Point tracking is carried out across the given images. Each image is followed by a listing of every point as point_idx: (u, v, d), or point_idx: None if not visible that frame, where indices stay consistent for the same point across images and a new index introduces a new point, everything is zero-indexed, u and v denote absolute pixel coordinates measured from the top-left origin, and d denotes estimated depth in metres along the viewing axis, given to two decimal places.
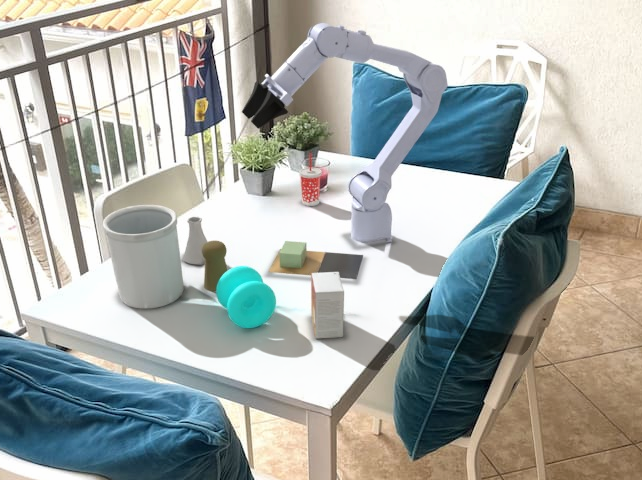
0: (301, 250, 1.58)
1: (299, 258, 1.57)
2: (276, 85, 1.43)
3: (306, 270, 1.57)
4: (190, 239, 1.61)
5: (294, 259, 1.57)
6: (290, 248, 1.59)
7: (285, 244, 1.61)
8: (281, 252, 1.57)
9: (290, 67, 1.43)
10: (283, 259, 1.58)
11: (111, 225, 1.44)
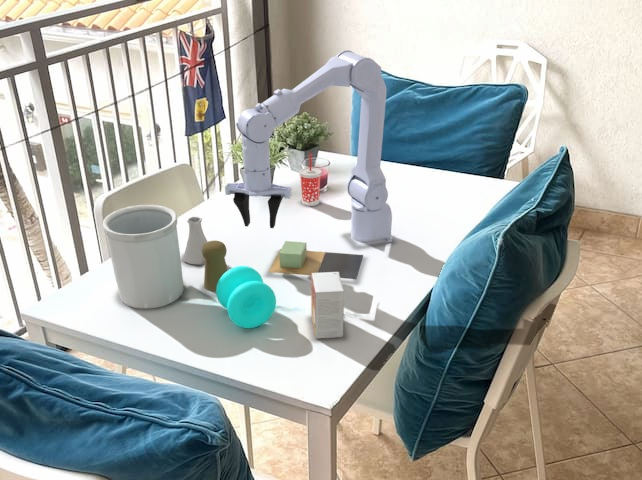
0: (301, 250, 1.58)
1: (299, 258, 1.57)
2: (269, 192, 1.51)
3: (306, 270, 1.57)
4: (190, 239, 1.61)
5: (294, 259, 1.57)
6: (290, 248, 1.59)
7: (285, 244, 1.61)
8: (281, 252, 1.57)
9: (263, 172, 1.48)
10: (283, 259, 1.58)
11: (111, 225, 1.44)
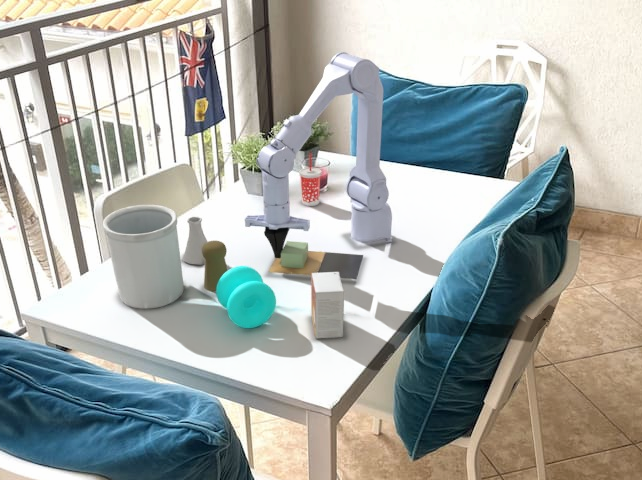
0: (303, 250, 1.58)
1: (301, 258, 1.57)
2: (288, 225, 1.54)
3: (306, 270, 1.57)
4: (190, 239, 1.61)
5: (296, 259, 1.57)
6: (291, 248, 1.59)
7: (287, 244, 1.61)
8: (283, 252, 1.57)
9: (282, 205, 1.52)
10: (284, 259, 1.58)
11: (111, 225, 1.44)
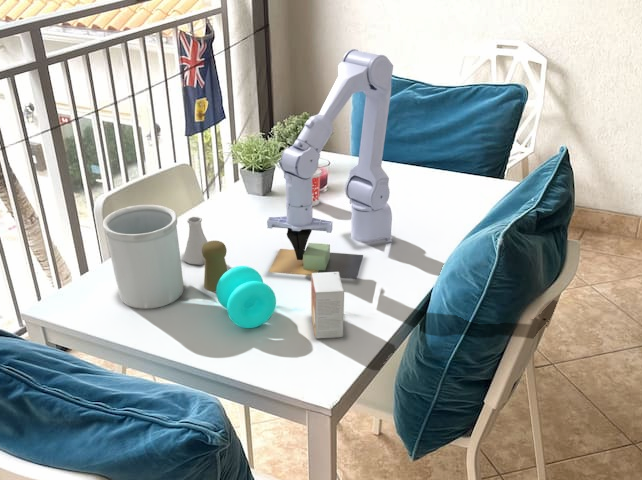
0: (325, 252, 1.57)
1: (323, 260, 1.56)
2: (311, 227, 1.53)
3: (306, 270, 1.57)
4: (190, 239, 1.61)
5: (318, 261, 1.56)
6: (313, 250, 1.58)
7: (308, 246, 1.60)
8: (305, 254, 1.56)
9: (306, 207, 1.51)
10: (307, 261, 1.57)
11: (111, 225, 1.44)
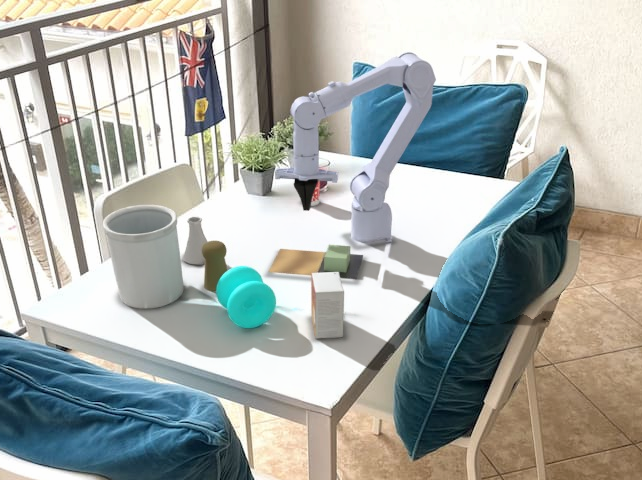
0: (346, 254, 1.56)
1: (344, 262, 1.55)
2: (317, 177, 1.58)
3: (306, 270, 1.57)
4: (190, 239, 1.61)
5: (340, 263, 1.55)
6: (334, 251, 1.57)
7: (329, 248, 1.59)
8: (326, 256, 1.55)
9: (312, 157, 1.56)
10: (328, 263, 1.56)
11: (111, 225, 1.44)
